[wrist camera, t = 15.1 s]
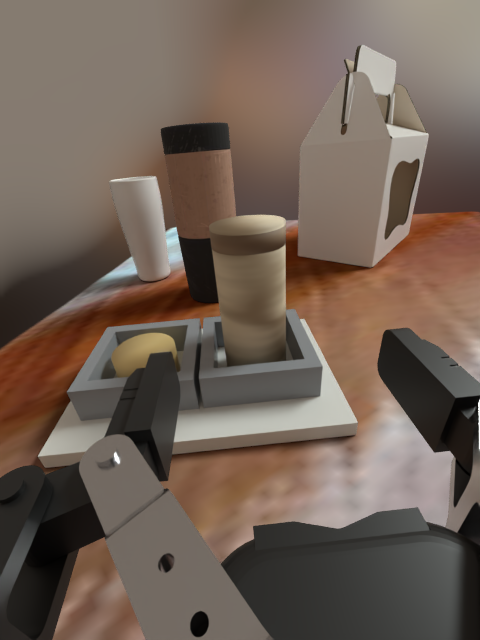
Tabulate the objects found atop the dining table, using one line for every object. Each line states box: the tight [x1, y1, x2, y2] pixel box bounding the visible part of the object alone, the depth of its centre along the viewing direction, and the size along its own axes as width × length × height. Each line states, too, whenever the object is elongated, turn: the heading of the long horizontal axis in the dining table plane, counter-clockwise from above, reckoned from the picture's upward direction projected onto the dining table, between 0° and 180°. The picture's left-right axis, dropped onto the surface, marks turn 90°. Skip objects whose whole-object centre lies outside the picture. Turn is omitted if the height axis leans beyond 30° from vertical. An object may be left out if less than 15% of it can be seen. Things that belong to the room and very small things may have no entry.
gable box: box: [298, 45, 429, 268], centre depth 50 cm, size 22×13×28 cm, turn 141°
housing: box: [38, 309, 358, 468], centre depth 25 cm, size 21×14×4 cm, turn 94°
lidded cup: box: [209, 215, 286, 367], centre depth 22 cm, size 5×5×12 cm
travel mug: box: [161, 123, 236, 303], centre depth 38 cm, size 8×8×20 cm
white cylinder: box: [109, 176, 171, 281], centre depth 46 cm, size 7×7×15 cm
